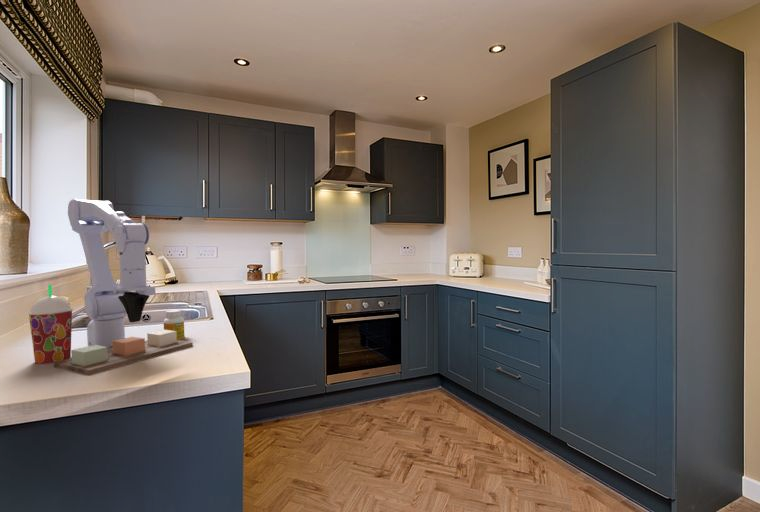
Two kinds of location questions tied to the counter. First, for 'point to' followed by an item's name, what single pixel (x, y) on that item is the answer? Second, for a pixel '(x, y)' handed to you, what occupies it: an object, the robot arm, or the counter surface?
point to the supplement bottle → (174, 323)
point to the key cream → (162, 338)
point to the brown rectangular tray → (122, 358)
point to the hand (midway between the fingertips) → (134, 321)
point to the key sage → (89, 355)
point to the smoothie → (51, 329)
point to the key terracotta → (128, 345)
